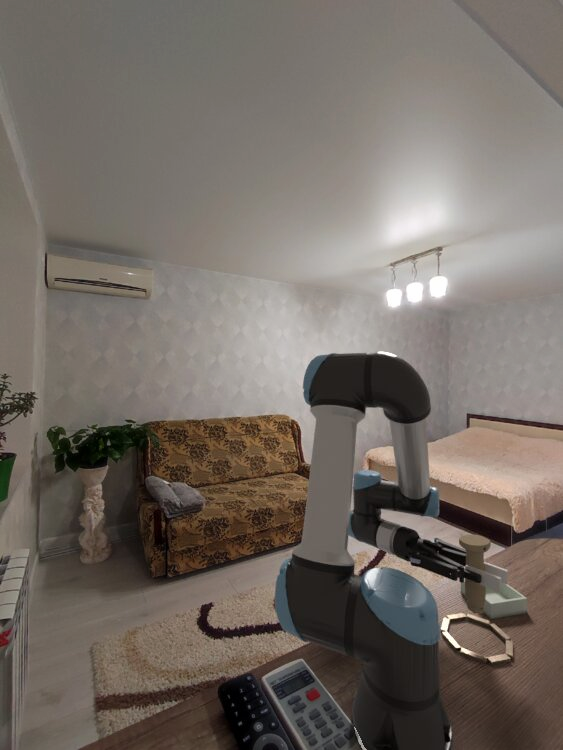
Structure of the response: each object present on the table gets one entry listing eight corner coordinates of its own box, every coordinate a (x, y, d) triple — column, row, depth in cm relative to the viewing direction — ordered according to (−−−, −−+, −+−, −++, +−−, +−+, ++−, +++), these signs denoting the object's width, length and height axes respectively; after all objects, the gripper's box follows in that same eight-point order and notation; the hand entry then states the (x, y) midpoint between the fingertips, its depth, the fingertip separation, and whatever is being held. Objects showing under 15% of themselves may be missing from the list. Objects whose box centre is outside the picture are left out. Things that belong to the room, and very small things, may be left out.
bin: (491, 618, 79) (491, 603, 79) (460, 592, 89) (460, 578, 89) (527, 612, 81) (527, 598, 81) (493, 587, 91) (493, 574, 91)
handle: (496, 613, 72) (495, 542, 72) (474, 621, 70) (473, 547, 70) (476, 600, 76) (475, 533, 77) (454, 606, 74) (454, 537, 74)
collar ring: (471, 670, 65) (471, 666, 65) (429, 621, 78) (429, 618, 78) (529, 658, 68) (529, 654, 68) (479, 613, 81) (479, 610, 81)
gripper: (415, 545, 92) (516, 584, 74) (380, 567, 81) (490, 618, 63) (414, 517, 92) (515, 549, 75) (380, 535, 81) (489, 577, 64)
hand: (503, 581), depth 69 cm, fingers closed on handle, 3 cm apart
